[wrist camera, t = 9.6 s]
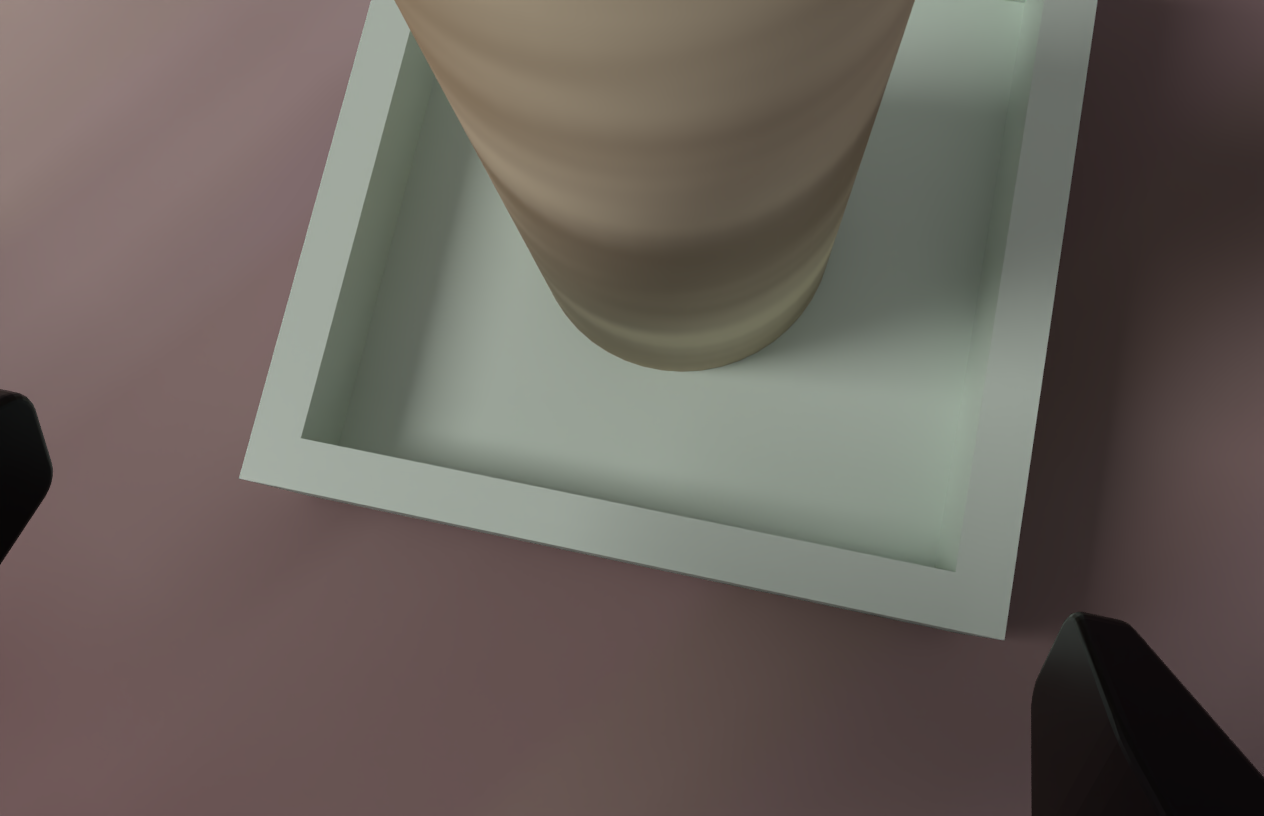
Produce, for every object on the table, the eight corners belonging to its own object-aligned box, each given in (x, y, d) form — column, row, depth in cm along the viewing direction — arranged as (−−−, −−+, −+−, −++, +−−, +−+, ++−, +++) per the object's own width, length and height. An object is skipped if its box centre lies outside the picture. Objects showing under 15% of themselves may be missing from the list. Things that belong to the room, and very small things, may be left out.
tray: (962, 633, 17) (1004, 639, 14) (304, 494, 18) (239, 477, 16) (1059, 1, 19) (1110, -90, 16) (456, -80, 20) (419, -175, 17)
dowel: (879, 304, 17) (1397, -622, 4) (599, 416, 17) (235, -153, 4) (762, 51, 18) (881, -1331, 5) (498, 157, 18) (-47, -949, 5)
